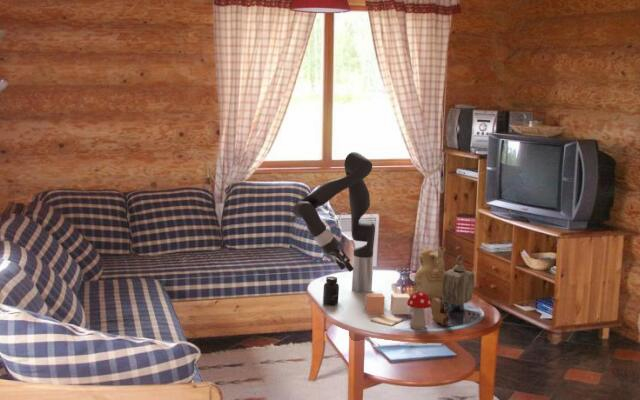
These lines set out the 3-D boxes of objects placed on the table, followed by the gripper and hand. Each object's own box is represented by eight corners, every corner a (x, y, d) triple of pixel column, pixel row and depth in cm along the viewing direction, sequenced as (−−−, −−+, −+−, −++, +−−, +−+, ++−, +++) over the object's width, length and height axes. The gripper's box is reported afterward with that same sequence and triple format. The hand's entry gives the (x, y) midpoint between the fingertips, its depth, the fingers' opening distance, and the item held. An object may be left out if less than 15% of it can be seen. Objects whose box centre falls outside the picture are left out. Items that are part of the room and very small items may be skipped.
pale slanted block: (392, 314, 320) (393, 297, 319) (390, 310, 325) (391, 293, 324) (409, 314, 321) (410, 297, 320) (406, 310, 326) (407, 293, 325)
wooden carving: (452, 328, 305) (454, 304, 303) (442, 328, 304) (444, 305, 302) (435, 315, 320) (437, 293, 319) (425, 316, 319) (427, 293, 318)
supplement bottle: (336, 306, 327) (337, 280, 325) (321, 305, 329) (322, 278, 327) (339, 302, 334) (340, 276, 332) (324, 300, 335) (325, 275, 333)
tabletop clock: (454, 304, 338) (458, 250, 334) (473, 308, 333) (477, 254, 329) (440, 311, 327) (444, 256, 323) (459, 315, 321) (463, 259, 317)
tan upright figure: (436, 288, 363) (440, 238, 359) (456, 300, 344) (460, 248, 340) (405, 290, 357) (408, 239, 353) (423, 302, 339) (426, 249, 335)
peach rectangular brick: (366, 313, 319) (367, 296, 318) (364, 309, 324) (365, 293, 323) (383, 313, 320) (384, 297, 319) (381, 309, 325) (382, 293, 324)
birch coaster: (381, 315, 318) (382, 313, 318) (402, 320, 312) (402, 318, 312) (370, 320, 310) (370, 319, 309) (391, 326, 304) (391, 324, 304)
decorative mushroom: (407, 330, 300) (409, 294, 297) (404, 323, 308) (406, 288, 306) (431, 330, 300) (434, 295, 298) (427, 324, 309) (430, 289, 306)
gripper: (313, 244, 321) (335, 273, 324) (326, 246, 307) (348, 276, 311) (326, 233, 323) (347, 262, 327) (339, 235, 309) (360, 265, 313)
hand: (347, 269), depth 319 cm, fingers open, 8 cm apart
